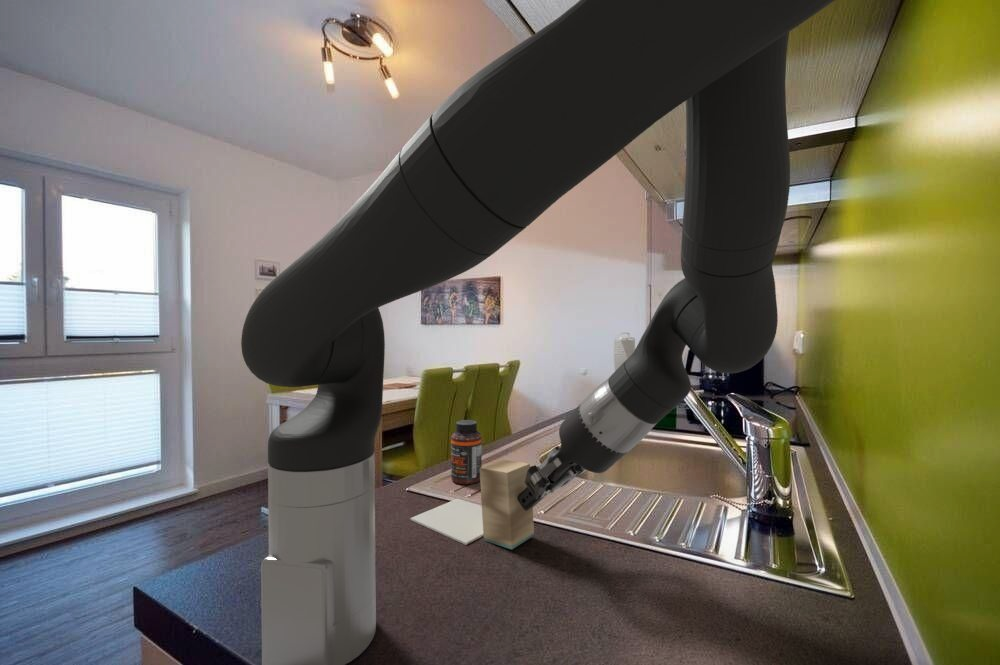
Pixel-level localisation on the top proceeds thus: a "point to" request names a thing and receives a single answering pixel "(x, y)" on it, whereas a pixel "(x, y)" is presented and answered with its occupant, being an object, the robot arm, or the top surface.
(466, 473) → the supplement bottle
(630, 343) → the skyscraper
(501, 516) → the beech block
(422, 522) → the grey mat
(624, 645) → the top surface
